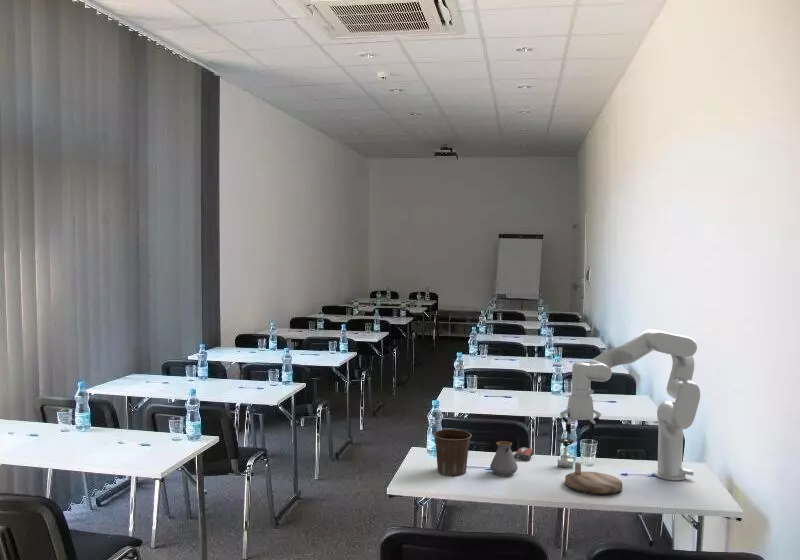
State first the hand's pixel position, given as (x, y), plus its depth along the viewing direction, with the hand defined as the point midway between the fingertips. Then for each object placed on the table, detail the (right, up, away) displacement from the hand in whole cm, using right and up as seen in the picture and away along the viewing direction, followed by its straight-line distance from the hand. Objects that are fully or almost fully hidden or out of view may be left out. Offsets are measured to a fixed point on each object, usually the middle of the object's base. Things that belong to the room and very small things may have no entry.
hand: (580, 433), depth 274 cm
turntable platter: (+2, -18, -12) cm, 21 cm away
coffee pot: (-32, -18, -2) cm, 37 cm away
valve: (-3, -18, +13) cm, 23 cm away
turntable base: (+2, -19, -12) cm, 22 cm away
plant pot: (-53, -18, +4) cm, 56 cm away
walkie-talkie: (-20, -18, +25) cm, 37 cm away
